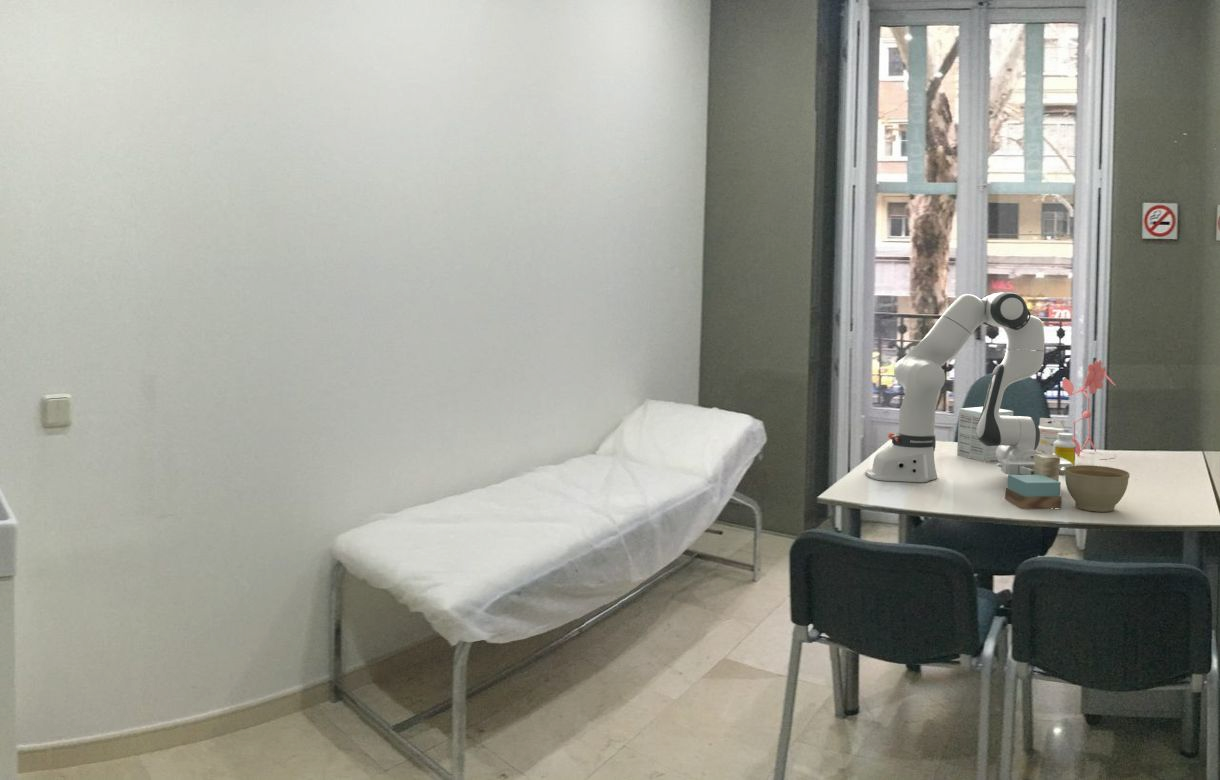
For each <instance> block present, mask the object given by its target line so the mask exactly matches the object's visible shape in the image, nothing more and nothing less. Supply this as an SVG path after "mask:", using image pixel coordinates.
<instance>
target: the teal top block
mask: <svg viewBox="0 0 1220 780" xmlns="http://www.w3.org/2000/svg"><path fill="white" fill-rule="evenodd" d="M1007 477H1008V478H1007V488H1008V489H1010V490H1012V491H1014V492H1016V493H1018V494H1021V495H1023V496H1025V497H1042V496H1061V481H1056V480H1054V479H1051V478H1049V477H1046V476H1044V475H1008V474H1007Z"/></svg>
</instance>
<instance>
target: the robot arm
mask: <svg viewBox="0 0 1220 780" xmlns="http://www.w3.org/2000/svg"><path fill="white" fill-rule="evenodd" d="M942 313H943V314H941V316H940V317H939V319H938V320H937V321H936V322H935V324H934V325H933V327H932V328H931V329H930V330H929V331H928V333H927V334H926V335H925V336H924V337H923V339H921V340H920V341H919V342H918V343H917V344H916V345H915V346H914V347H913V348H912V349H911V350H910V351H909V352H908V353H907V354H906V355H905V356H904V357H902V358H900V359H899V360H898V361H897V362H896V364H895V366H894V370H893V374H894V378H895V379H896V381H897V382H898V383H899V385H900V386H901V387H903V388H904V389H905V391H904V394H903V395H904V396H903V400H902V402H901V403H902V404H901V406H900V407H899V410H898V432H896V433H895V434H894V433H893V432H889V433H888V434H887V437H888V439H889V440H891V444H890V445H888V446H887V447H885V448H884V449H883V450H882V451H880V452H878V453H876V455H875V456H874V459H873V462H872V467H871V468H866V469H865V475H866V476H867V477H868V478H870V479H873V480H875V481H886V482H888V481H889V482H910V483H911V482H912V483H927V482H929V481H932V480H936V479H938V478H939V477H938V473H937V470H936V469H937V468H936V460H935V451H936V441H937V440H936V434H935V425H936V424H935V423H936V410H937V405H938V401H939V397H940V392H941V389H942V388H943V386H944V385H945V382H946V374H945V370H944V369H943V368H942V367H943V366H944V365H945V364H946V363H947V362H948V361H950V360H951V359H952V358H954V357H956V356H957V355H958V354H959V352H960V351H961V349H962V348H963V347H964V345H966V343H967V342H968V340H969V339H970V337H971V336H972V335H973V333H974V332H975V330H976V329H977V328H978V327H980V326H981V325H982V324H983V325H985V326H989V327H996V328H1002V329H1003V330H1004V331H1005V334H1006V340H1007V341H1006V350H1005V354H1004V358H1003V360H1002V361H1001V363H1000V364H998V365H996V366H995V368H993V371H992V374H991V377H990V380H989V383H988V387H987V391H986V395H985V397H984V398H985V399H984V403H983V406H982V407H983V410H982V413H981V416H980V418H979V421H978V424H977V428H976V435H977V437H978V439H979V440H980V441H981V442H982V443H983V444H985V445H986V446H998V447H997V449H996V457H997V459H998V460H997V461H998V462H996V464H995V465H996V466H997V467H999V468H1000V471H1001V472H1002V473H1004V475H1007V476H1008V475H1034V466H1035V454H1052V455H1055V456H1057V454H1054V453H1046V452H1039V451H1036V448H1037V446H1038V444H1039V440H1040V429H1039V424H1037V422H1036V421H1035V420H1034V419H1033V417H1031V416H1022V415H1021V416H1020V415H1013V416H1000V415H999V409H1001V405H1002V402H1003V396H1004V392H1005V390H1006V389H1007V388H1008V387H1009V386H1011V384H1013V383H1016V382H1019V381H1023V380H1026V379H1029V378H1031V377H1032V376H1034V375H1035V374H1037V373H1038V372H1039V371H1040V370H1041V368H1042V367H1043V363H1044V358H1045V329H1044V323H1043V321H1042V320H1041V319H1040V318H1039V317H1037V316H1034V315H1031V312H1030V310H1029V308H1028V305H1027V303H1026V300H1025V299H1024V298H1023V296H1022V295H1020V294H1017V293H1015V292H1011V291H1007V292H1004V291H999V292H995V293H990V294H988V295H985V296H984V297H981V298H980V297H978V296H977V295H974V294H970V293H965V294H962V295H960V296H959V297H957V298H956V300H954V301H953V302H952V303H951V305H949V306H948V307H947V309H945V311H944V312H942ZM1059 458H1060V457H1059ZM1068 466H1073V464H1072V463H1071V462H1070V461H1068V460H1066V459H1063V458H1060V466H1059V476H1062V477H1063V476H1064V477H1065V471H1064V469H1065V468H1066V467H1068Z"/></svg>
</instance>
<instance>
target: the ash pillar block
mask: <svg viewBox="0 0 1220 780" xmlns="http://www.w3.org/2000/svg"><path fill="white" fill-rule="evenodd" d="M1059 466H1060V458H1059V457H1057V456H1055V455H1052V454H1035V466H1034V475H1044V476H1046V477H1049V478H1051V479H1054V480H1056V481H1058V482H1060V481H1059V477H1060V475H1059Z"/></svg>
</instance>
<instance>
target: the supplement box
mask: <svg viewBox="0 0 1220 780" xmlns="http://www.w3.org/2000/svg"><path fill="white" fill-rule="evenodd" d="M982 410H983V406H977V407H974V406H973V407H965V408H964V407H962V408H959V411H958V430H957V446H956V447H957V449H956V455H957V456H959V455H961V456H960V457H963V456H965V457H964V458H967V457H969V458H968V459H971V458H973V459H972V460H975V459H977V460H976V461H979V460H981V461H980V462H983V461H986V462H991V461H990V460H994V461H998V459H997V457H996V449H997V447H998V446H986V445H985V444H983V443H982V442H981V441H980V440H979V439H978V437H977V435H976V428H977V424H978V421H979V418H980V416H981V413H982ZM999 415H1000V416H1014V411H1013V410H1010V409H1003V408H1000V409H999Z"/></svg>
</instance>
